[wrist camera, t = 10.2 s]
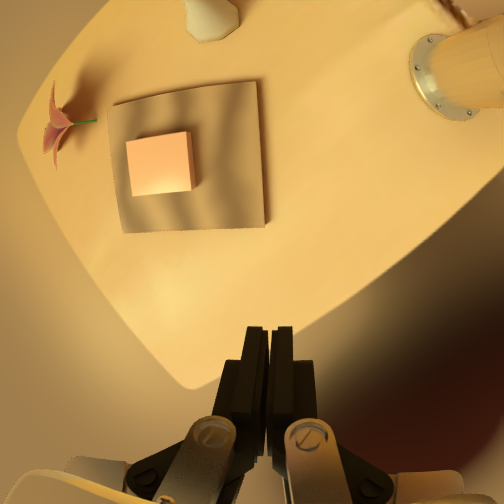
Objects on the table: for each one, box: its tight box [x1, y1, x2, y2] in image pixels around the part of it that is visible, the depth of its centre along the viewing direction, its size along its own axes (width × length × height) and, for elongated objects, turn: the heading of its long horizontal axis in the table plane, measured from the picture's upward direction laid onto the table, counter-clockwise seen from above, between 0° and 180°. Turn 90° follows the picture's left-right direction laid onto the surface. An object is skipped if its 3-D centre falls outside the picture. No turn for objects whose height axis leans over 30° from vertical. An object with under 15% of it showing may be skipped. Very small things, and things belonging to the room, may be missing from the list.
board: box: [107, 81, 265, 234], centre depth 34 cm, size 20×18×1 cm
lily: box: [43, 80, 97, 171], centre depth 30 cm, size 12×12×10 cm
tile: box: [126, 132, 196, 196], centre depth 33 cm, size 2×7×8 cm
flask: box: [183, 0, 239, 43], centre depth 22 cm, size 7×7×10 cm
